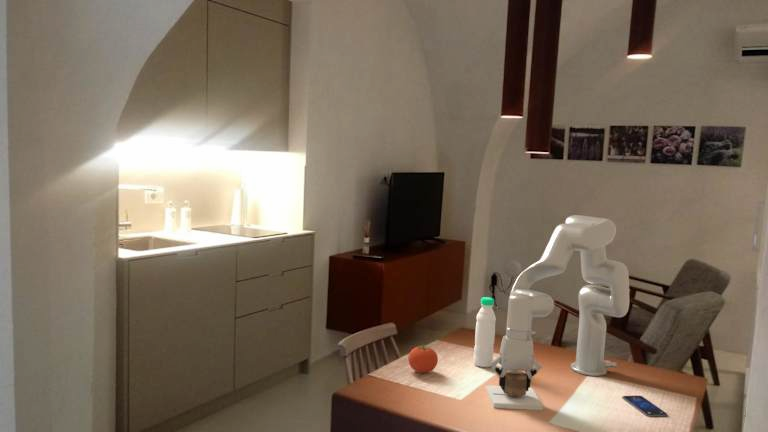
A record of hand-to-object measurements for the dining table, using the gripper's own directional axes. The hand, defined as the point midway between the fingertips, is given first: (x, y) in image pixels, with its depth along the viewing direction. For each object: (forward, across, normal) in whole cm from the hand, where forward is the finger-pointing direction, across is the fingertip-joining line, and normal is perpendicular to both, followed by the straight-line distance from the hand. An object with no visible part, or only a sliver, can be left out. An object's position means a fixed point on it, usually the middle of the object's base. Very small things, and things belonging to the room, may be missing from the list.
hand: (514, 388), depth 186 cm
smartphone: (+4, -41, 0) cm, 42 cm away
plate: (+4, 0, 0) cm, 4 cm away
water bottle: (+4, +5, -31) cm, 31 cm away
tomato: (+4, +28, -20) cm, 34 cm away
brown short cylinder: (+1, 0, 0) cm, 1 cm away
